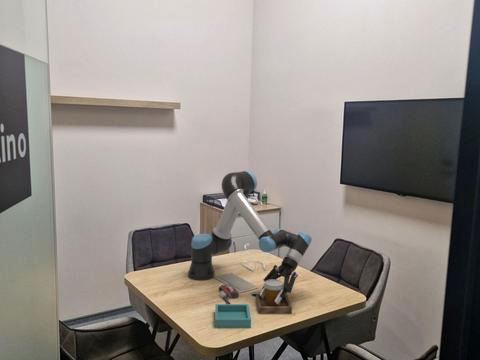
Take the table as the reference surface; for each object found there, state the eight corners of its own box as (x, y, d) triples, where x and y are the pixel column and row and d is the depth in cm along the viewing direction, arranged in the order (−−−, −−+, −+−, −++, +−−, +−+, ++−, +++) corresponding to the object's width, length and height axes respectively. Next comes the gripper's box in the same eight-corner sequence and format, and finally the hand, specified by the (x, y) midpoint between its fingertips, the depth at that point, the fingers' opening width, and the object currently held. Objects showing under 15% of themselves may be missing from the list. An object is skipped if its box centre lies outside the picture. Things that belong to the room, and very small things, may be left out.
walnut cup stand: (258, 313, 190) (258, 307, 190) (255, 299, 205) (255, 294, 205) (291, 313, 191) (292, 307, 190) (286, 299, 206) (286, 294, 206)
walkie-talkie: (215, 290, 217) (227, 306, 198) (215, 282, 216) (227, 297, 197) (230, 288, 220) (244, 304, 201) (231, 280, 219) (244, 295, 200)
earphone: (250, 267, 241) (243, 241, 252) (244, 281, 253) (237, 256, 264) (272, 265, 245) (264, 240, 257) (264, 279, 257) (257, 255, 268)
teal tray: (214, 327, 176) (215, 319, 176) (215, 311, 191) (215, 304, 191) (250, 327, 177) (251, 319, 176) (248, 311, 192) (248, 304, 192)
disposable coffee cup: (285, 304, 200) (286, 281, 199) (279, 312, 192) (279, 287, 190) (267, 300, 204) (268, 277, 203) (260, 308, 196) (260, 284, 194)
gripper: (312, 270, 198) (289, 311, 190) (278, 258, 214) (256, 296, 205) (306, 261, 194) (282, 303, 185) (272, 250, 210) (248, 288, 201)
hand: (268, 299), depth 195 cm, fingers closed on disposable coffee cup, 9 cm apart
